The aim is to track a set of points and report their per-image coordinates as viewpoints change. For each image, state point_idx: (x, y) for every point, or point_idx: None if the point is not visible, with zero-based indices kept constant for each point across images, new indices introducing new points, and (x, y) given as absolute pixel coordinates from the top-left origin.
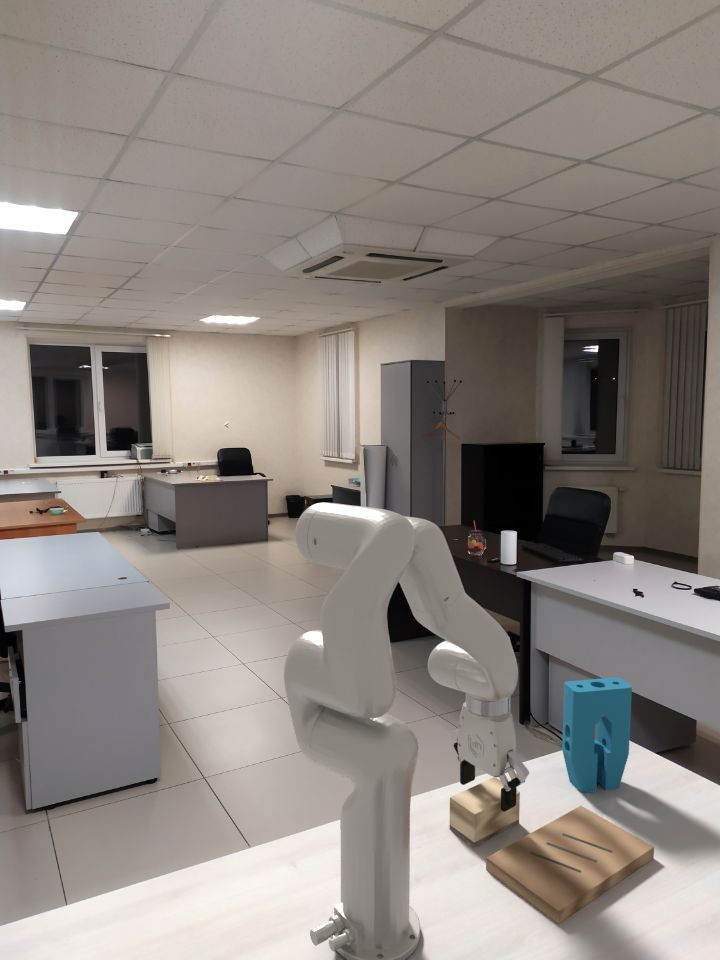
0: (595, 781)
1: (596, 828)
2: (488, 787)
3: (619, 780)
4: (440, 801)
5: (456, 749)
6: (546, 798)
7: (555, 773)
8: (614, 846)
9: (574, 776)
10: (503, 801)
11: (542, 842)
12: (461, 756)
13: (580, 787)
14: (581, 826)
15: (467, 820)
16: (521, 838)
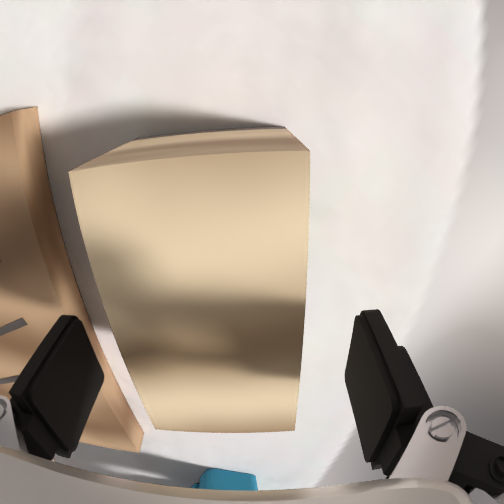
0: None
1: None
2: (248, 384)
3: None
4: (427, 222)
5: (492, 454)
6: (230, 434)
7: (287, 472)
8: (10, 395)
9: None
10: (38, 347)
11: (27, 315)
12: (405, 495)
13: (210, 476)
14: None
15: (147, 148)
16: (52, 284)
